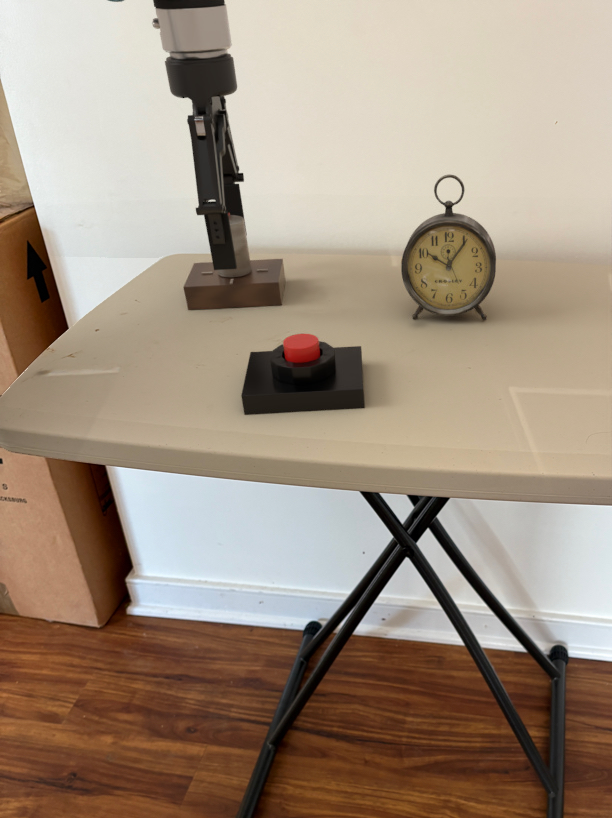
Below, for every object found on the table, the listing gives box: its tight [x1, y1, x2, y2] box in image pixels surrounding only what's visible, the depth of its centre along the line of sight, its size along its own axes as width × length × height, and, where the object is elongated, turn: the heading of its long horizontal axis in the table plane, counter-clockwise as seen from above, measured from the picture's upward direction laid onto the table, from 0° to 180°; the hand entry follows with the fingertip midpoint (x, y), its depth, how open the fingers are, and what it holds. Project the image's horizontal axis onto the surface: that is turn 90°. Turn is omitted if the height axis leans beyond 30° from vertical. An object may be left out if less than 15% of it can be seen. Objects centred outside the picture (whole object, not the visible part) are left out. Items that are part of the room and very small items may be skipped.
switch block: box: [240, 340, 366, 416], centre depth 78 cm, size 12×10×4 cm
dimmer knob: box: [217, 213, 252, 278], centre depth 97 cm, size 4×4×7 cm
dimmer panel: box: [183, 258, 286, 311], centre depth 100 cm, size 12×9×3 cm
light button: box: [282, 333, 320, 363], centre depth 77 cm, size 4×4×2 cm
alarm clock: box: [400, 174, 497, 321], centre depth 88 cm, size 11×5×16 cm, turn 83°
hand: (231, 251), depth 98 cm, fingers open, 12 cm apart
